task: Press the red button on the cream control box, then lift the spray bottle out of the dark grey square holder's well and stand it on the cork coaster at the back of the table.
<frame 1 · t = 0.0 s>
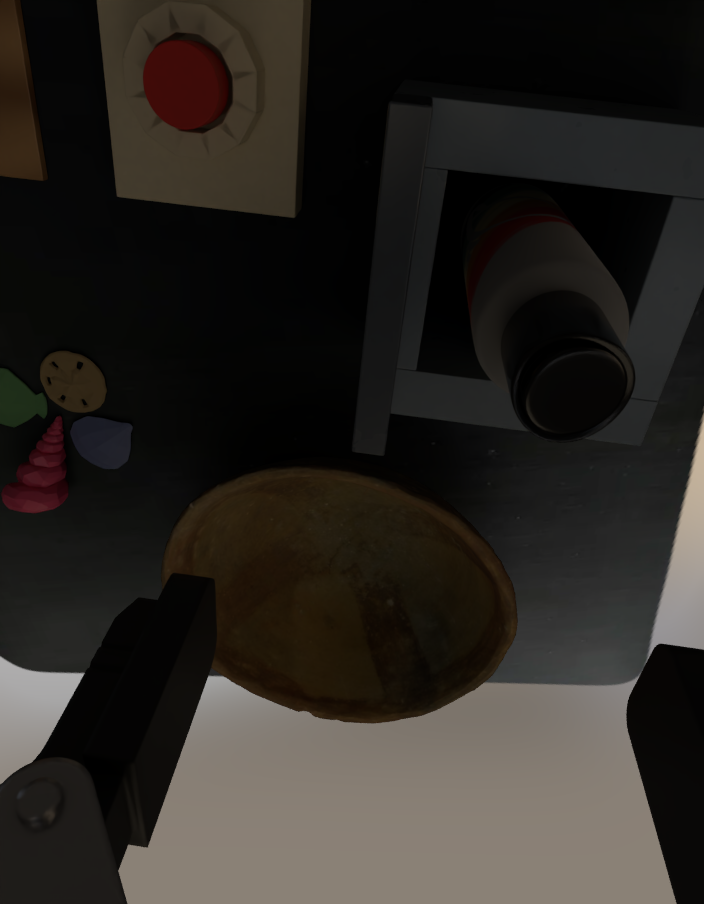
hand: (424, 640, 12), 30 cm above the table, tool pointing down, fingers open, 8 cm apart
bowl: (353, 517, 49), on the table
toy pieces: (61, 422, 47), on the table
dark grey square holder: (510, 234, 37), on the table
control box: (213, 80, 34), on the table
spray bottle: (509, 233, 37), resting in dark grey square holder
button: (186, 85, 30), point 4 cm above the table, slide at 0.1 cm
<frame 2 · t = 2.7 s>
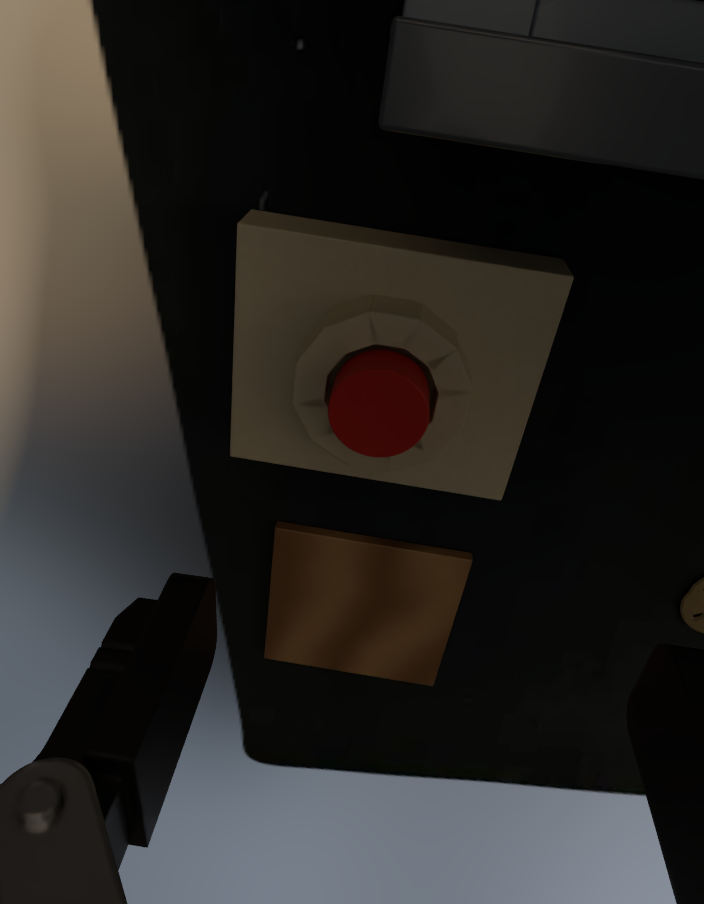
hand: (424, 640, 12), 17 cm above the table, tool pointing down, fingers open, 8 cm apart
coaster: (361, 605, 35), on the table
control box: (386, 353, 27), on the table
button: (379, 403, 24), point 4 cm above the table, slide at 0.1 cm
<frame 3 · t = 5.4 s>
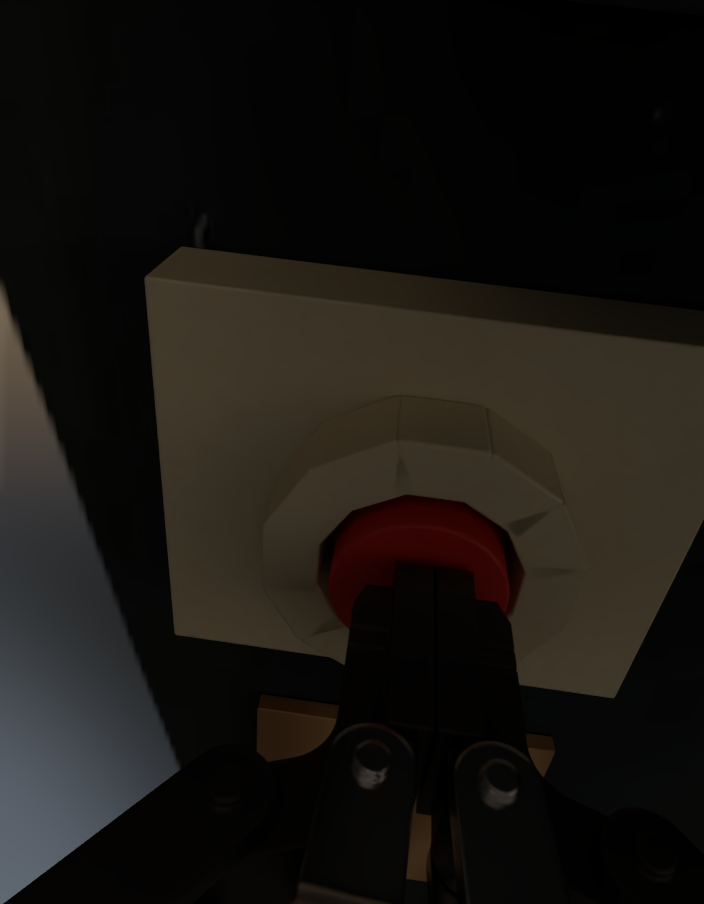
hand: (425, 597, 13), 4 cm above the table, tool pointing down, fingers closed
coaster: (387, 794, 25), on the table
control box: (420, 470, 17), on the table
button: (418, 566, 14), point 4 cm above the table, slide at -0.8 cm, touching gripper
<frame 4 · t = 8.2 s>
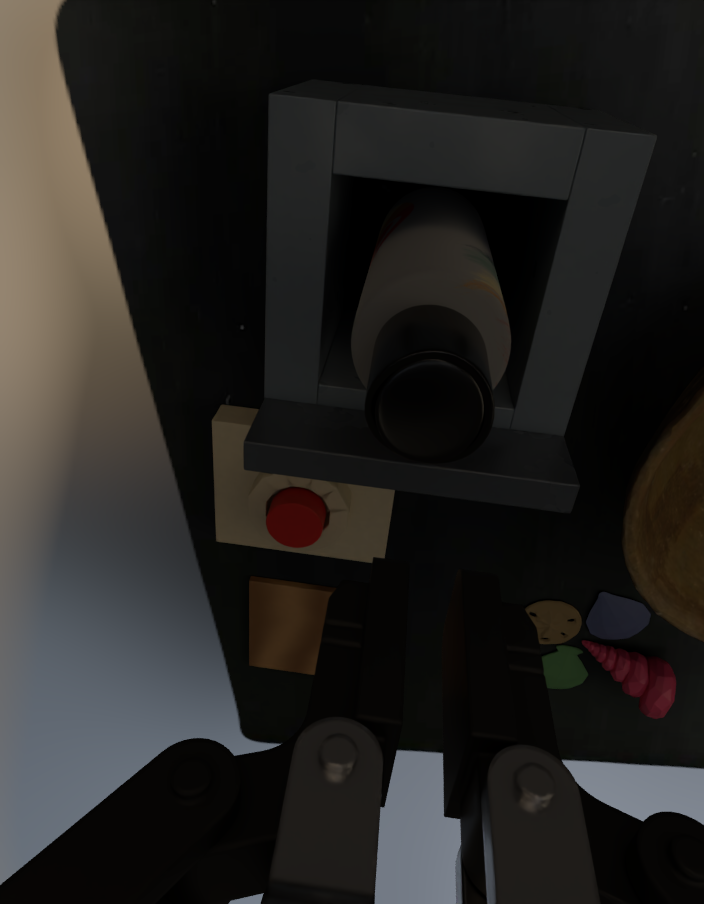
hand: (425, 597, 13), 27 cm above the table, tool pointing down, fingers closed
toy pieces: (591, 640, 51), on the table
dark grey square holder: (431, 239, 35), on the table
coaster: (310, 628, 53), on the table
control box: (307, 478, 45), on the table
spray bottle: (431, 238, 36), resting in dark grey square holder
button: (296, 517, 41), point 4 cm above the table, slide at 0.1 cm
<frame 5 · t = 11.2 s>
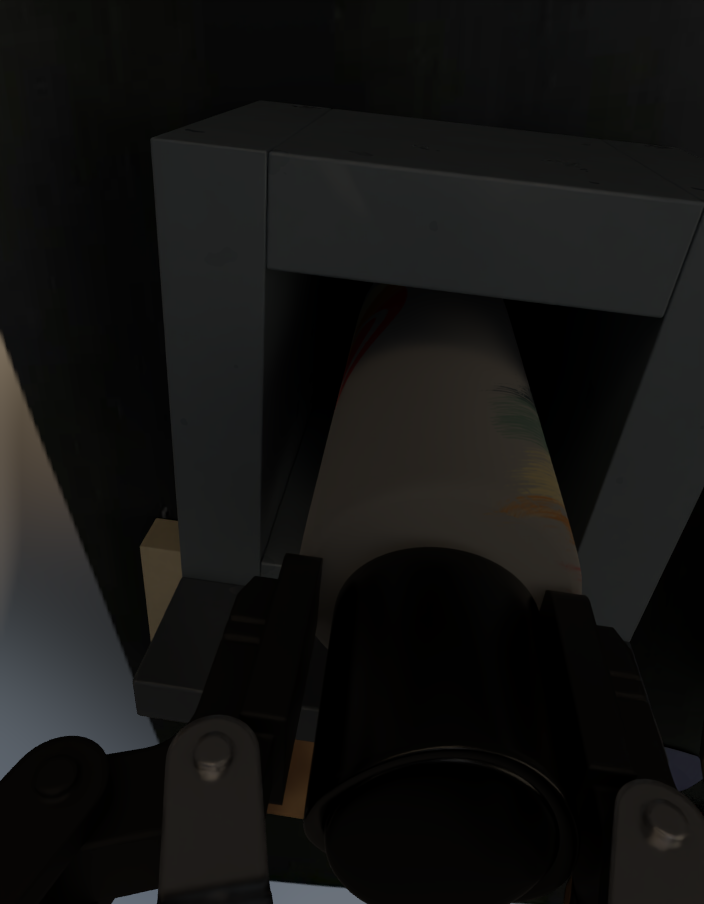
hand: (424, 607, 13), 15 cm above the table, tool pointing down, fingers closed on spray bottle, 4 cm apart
toy pieces: (628, 790, 41), on the table
dark grey square holder: (432, 321, 25), on the table
coaster: (281, 766, 43), on the table
control box: (271, 605, 35), on the table
spray bottle: (431, 319, 26), resting in dark grey square holder, touching gripper
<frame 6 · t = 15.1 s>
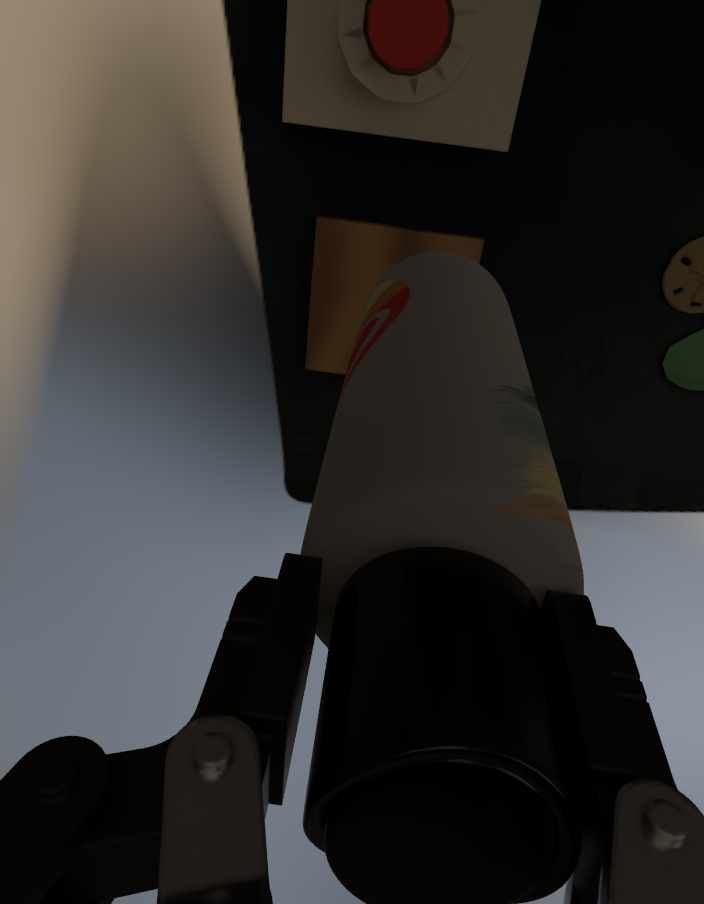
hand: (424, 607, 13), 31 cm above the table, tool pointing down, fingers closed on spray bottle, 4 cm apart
coaster: (388, 305, 41), on the table
control box: (410, 24, 33), on the table
spray bottle: (434, 319, 25), point 15 cm above the table, touching gripper
button: (408, 23, 29), point 4 cm above the table, slide at 0.1 cm
when the fingers open (16 cm above the table, at t = 19.2 s): spray bottle stays where it is, resting on coaster.
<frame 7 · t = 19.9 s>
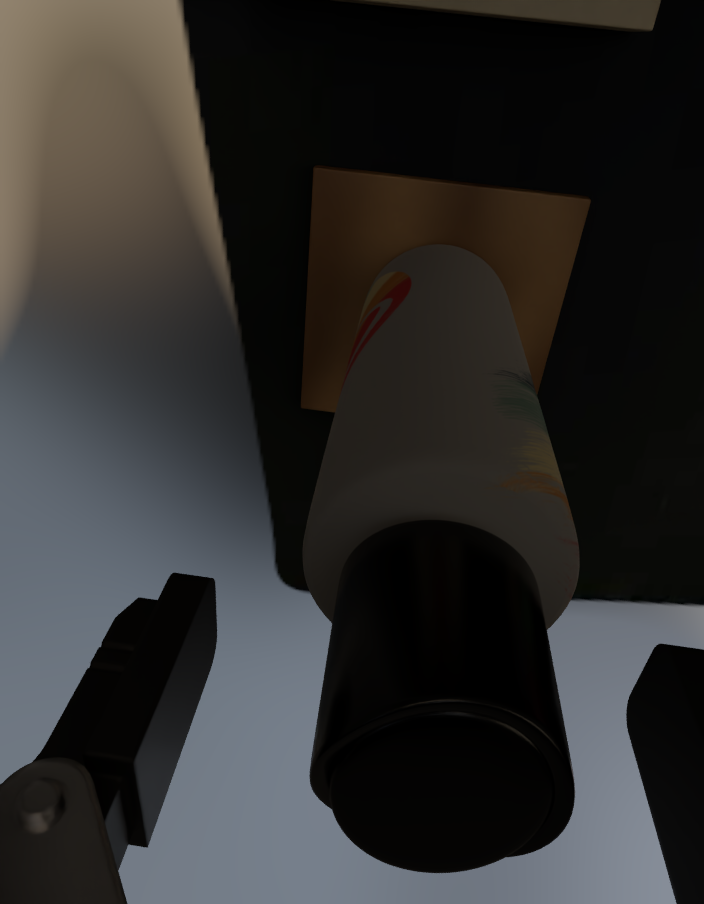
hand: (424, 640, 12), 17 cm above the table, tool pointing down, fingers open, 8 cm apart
coaster: (429, 310, 26), on the table
spray bottle: (435, 311, 26), resting on coaster
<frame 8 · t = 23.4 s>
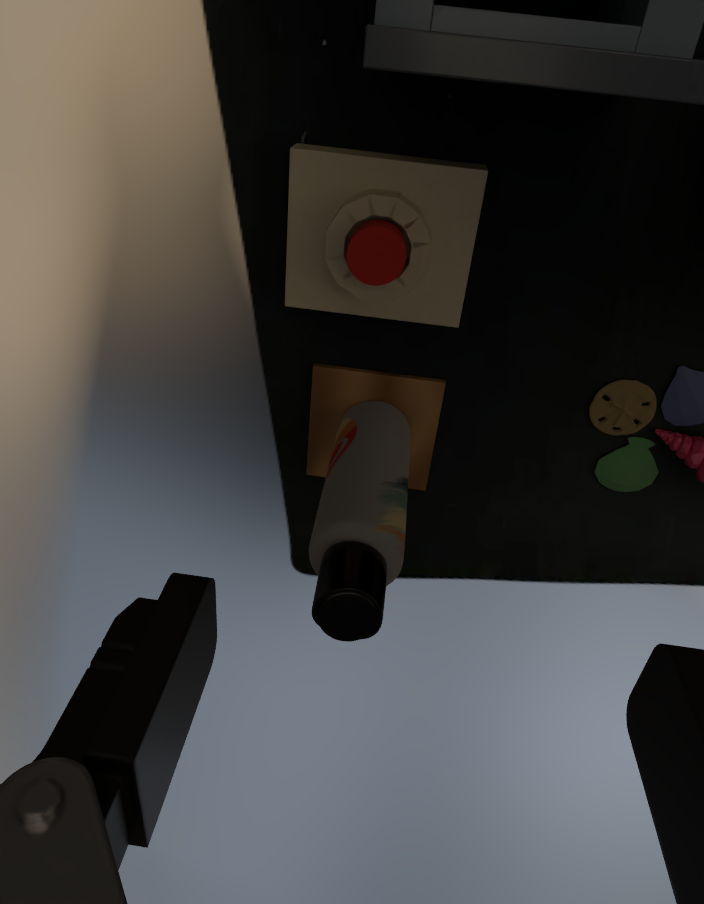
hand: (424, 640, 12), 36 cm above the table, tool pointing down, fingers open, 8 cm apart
toy pieces: (664, 430, 49), on the table
coaster: (372, 427, 51), on the table
control box: (381, 234, 43), on the table
spray bottle: (374, 429, 51), resting on coaster
button: (376, 252, 40), point 4 cm above the table, slide at 0.1 cm
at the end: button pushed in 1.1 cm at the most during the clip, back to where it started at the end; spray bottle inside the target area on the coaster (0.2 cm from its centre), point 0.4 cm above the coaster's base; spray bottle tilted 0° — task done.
